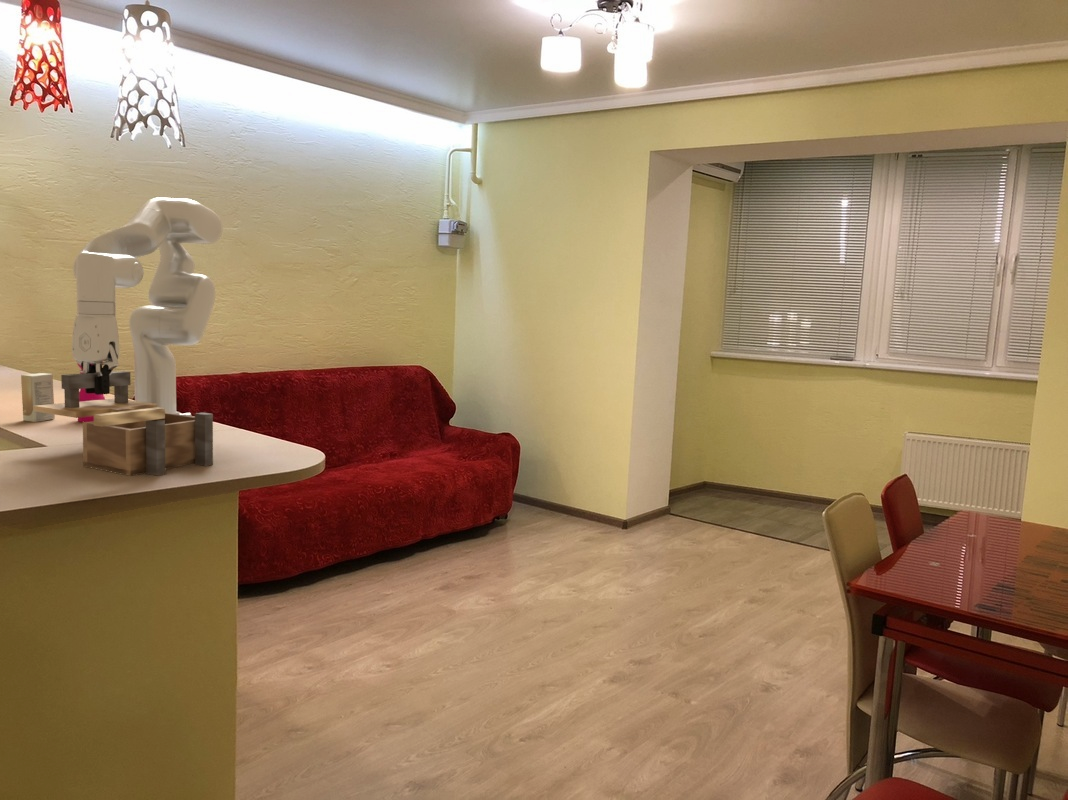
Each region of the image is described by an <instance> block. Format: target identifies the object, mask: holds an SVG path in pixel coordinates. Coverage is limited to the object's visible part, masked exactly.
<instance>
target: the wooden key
mask: <svg viewBox="0 0 1068 800" xmlns="http://www.w3.org/2000/svg"><path fill="white" fill-rule="evenodd" d="M163 418H165V408H160V407H156V408H147V409H139V410H130V411H121V412H113V413H104V414H95V415H94V426H101V427H102V426H109V425H117V424H125V423H133V422H140V421H148V420H156V419H163Z"/></svg>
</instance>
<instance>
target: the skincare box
mask: <svg viewBox="0 0 1068 800" xmlns="http://www.w3.org/2000/svg"><path fill="white" fill-rule="evenodd" d="M53 377H54V376H53V374H52V373H46V372H43V373H42V372H39V373H31V374H30V373H29V374H21V375H20V380H21V381H20V382H21V383H20V384H21V401H22V402H21V403H22V419H23V420H22V421H25V422H30V423H31V422H32V423H36V422H37V423H38V422H43V421H49V420H54V419H56V418H55V417H56V415H54V414H48V413H42V412H35V411H34V406H36V405H48V404H55V400H54V399H55V398H54V397H55V396H54V395H55V394H54V378H53Z"/></svg>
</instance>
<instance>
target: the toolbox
mask: <svg viewBox="0 0 1068 800" xmlns="http://www.w3.org/2000/svg"><path fill="white" fill-rule="evenodd" d="M180 414H181V413H180ZM180 414H173V413H166V412H165V418H163V419H156V420H148V421H140V422H133V423H125V424H117V425H109V426H102V427H101V426H94V421H92V422H82V448H83V449H82V453H83V454H82V457H83V458H82V460H83V467H84V466H87V467H86V468H89V467H92V468H91V469H94V468H97V469H96V470H99V469H102V470H101V471H104V470H107V471H106V472H109V471H112V472H111V473H114V472H116V474H119V473H121V474H120V475H124V474H125V475H126V476H129V475H130V476H129V477H131V476H134V475H135V476H136V474H137V475H140V474H147V475H151V476H162V475H166V470H167V469H172V468H177V467H182V466H187V465H193V464H195V465H198V466H204V467H207V466H212V465H213V464H214V428H213V427H214V424H213V423H214V414H213V413H209V412H196V413H194V415H193V416H192V415H191V416H187V415H180Z"/></svg>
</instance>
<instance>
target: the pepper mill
mask: <svg viewBox="0 0 1068 800" xmlns="http://www.w3.org/2000/svg"><path fill="white" fill-rule="evenodd" d="M102 362H104V361H102ZM76 363H77V362H76ZM91 364H92V363H91ZM77 366H78V367H79V369H80V370H79V374H83V368H82V367H81V365H79V364H78V363H77ZM104 395H105V394H102V395H96V394H95V393H89V394H88V393H86V392H85V389H79V402H81V401H93V400H104V399H106V398H105V396H104ZM77 421H78V422H79V423H83V422H92V421H94V416H89V417H79V418H77Z"/></svg>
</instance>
